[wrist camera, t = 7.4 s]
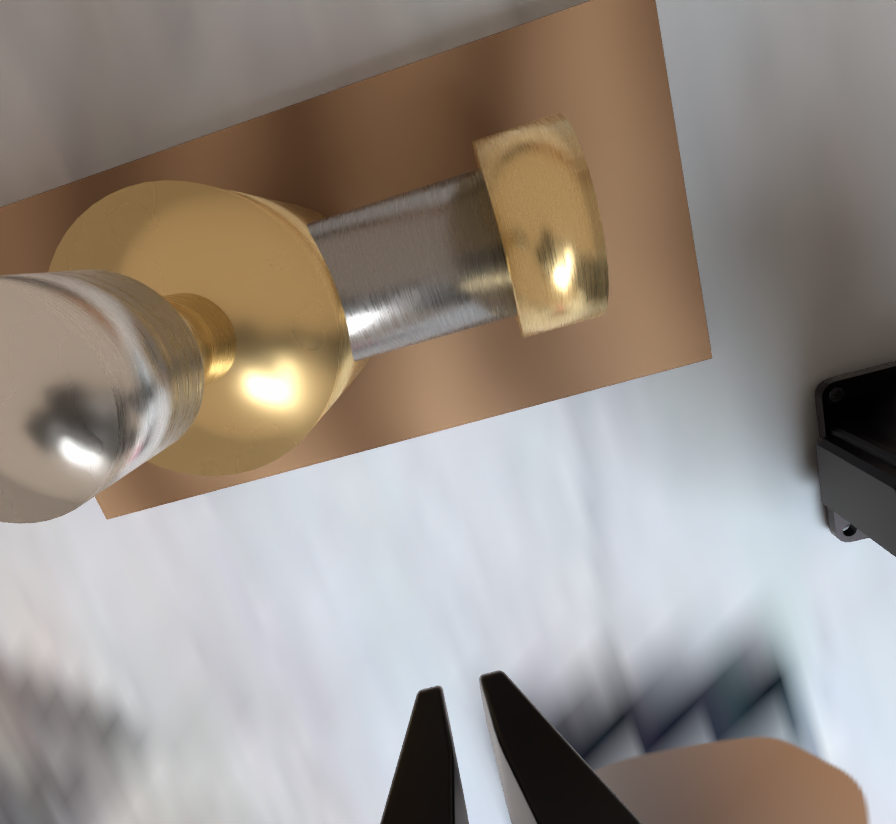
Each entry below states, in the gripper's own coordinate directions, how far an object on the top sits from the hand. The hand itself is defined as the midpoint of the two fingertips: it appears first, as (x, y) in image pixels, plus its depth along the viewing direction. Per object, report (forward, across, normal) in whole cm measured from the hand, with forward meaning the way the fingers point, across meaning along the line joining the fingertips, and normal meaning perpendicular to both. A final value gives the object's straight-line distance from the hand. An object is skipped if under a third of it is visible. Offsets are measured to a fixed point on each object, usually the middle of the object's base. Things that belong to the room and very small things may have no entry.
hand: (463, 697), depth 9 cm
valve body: (+12, +3, -5) cm, 13 cm away
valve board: (+13, +1, -5) cm, 14 cm away
